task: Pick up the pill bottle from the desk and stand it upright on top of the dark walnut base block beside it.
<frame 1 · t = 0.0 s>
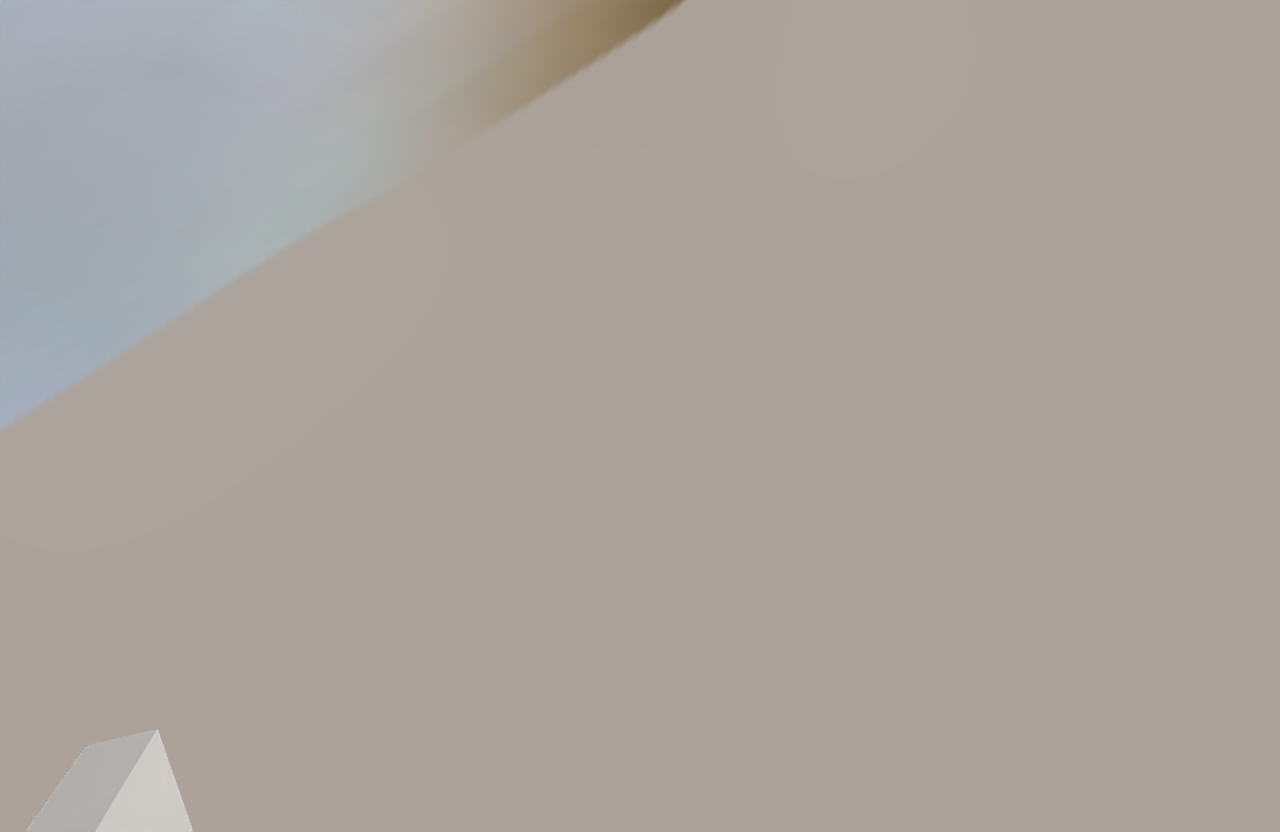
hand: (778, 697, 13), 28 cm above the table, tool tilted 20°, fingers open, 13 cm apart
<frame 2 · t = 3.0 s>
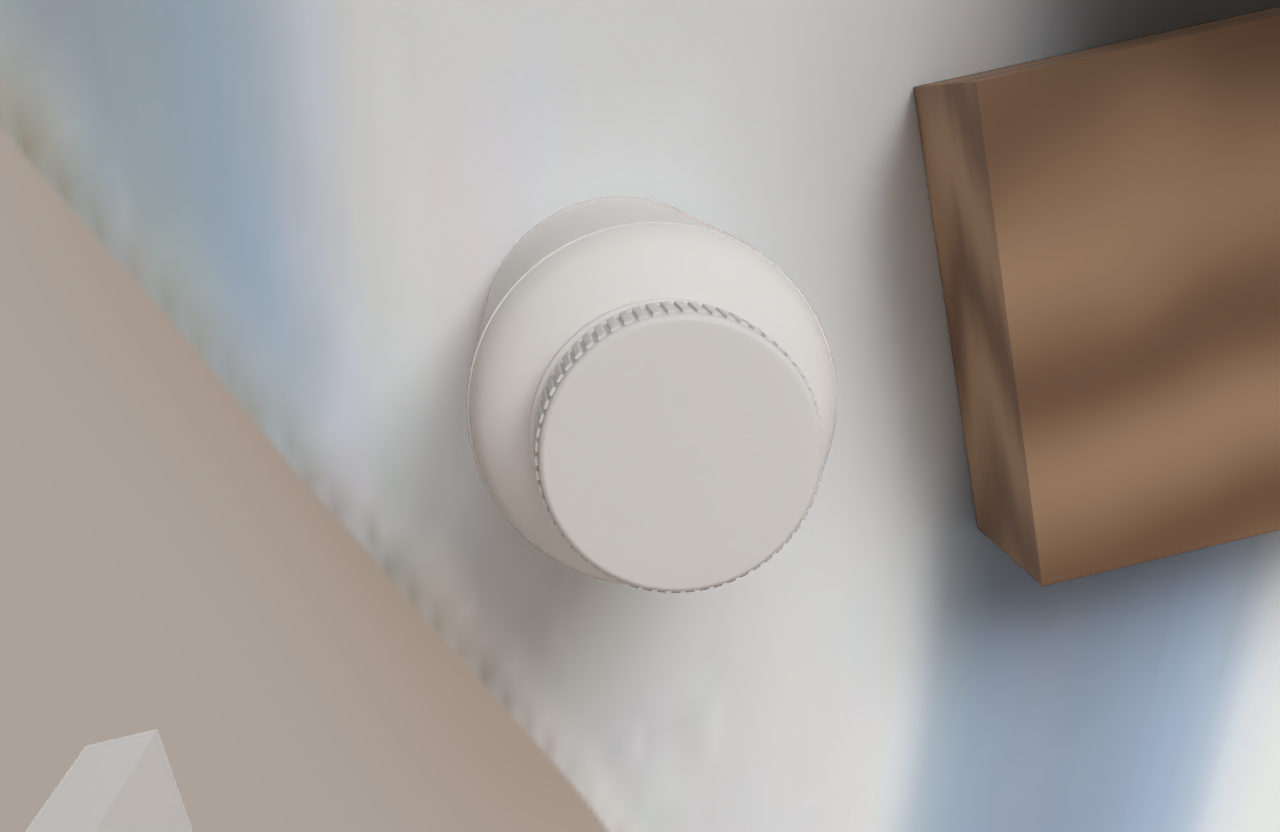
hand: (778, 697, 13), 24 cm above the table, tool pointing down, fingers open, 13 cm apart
walnut base: (1164, 268, 37), on the table
pill bottle: (615, 325, 36), on the table
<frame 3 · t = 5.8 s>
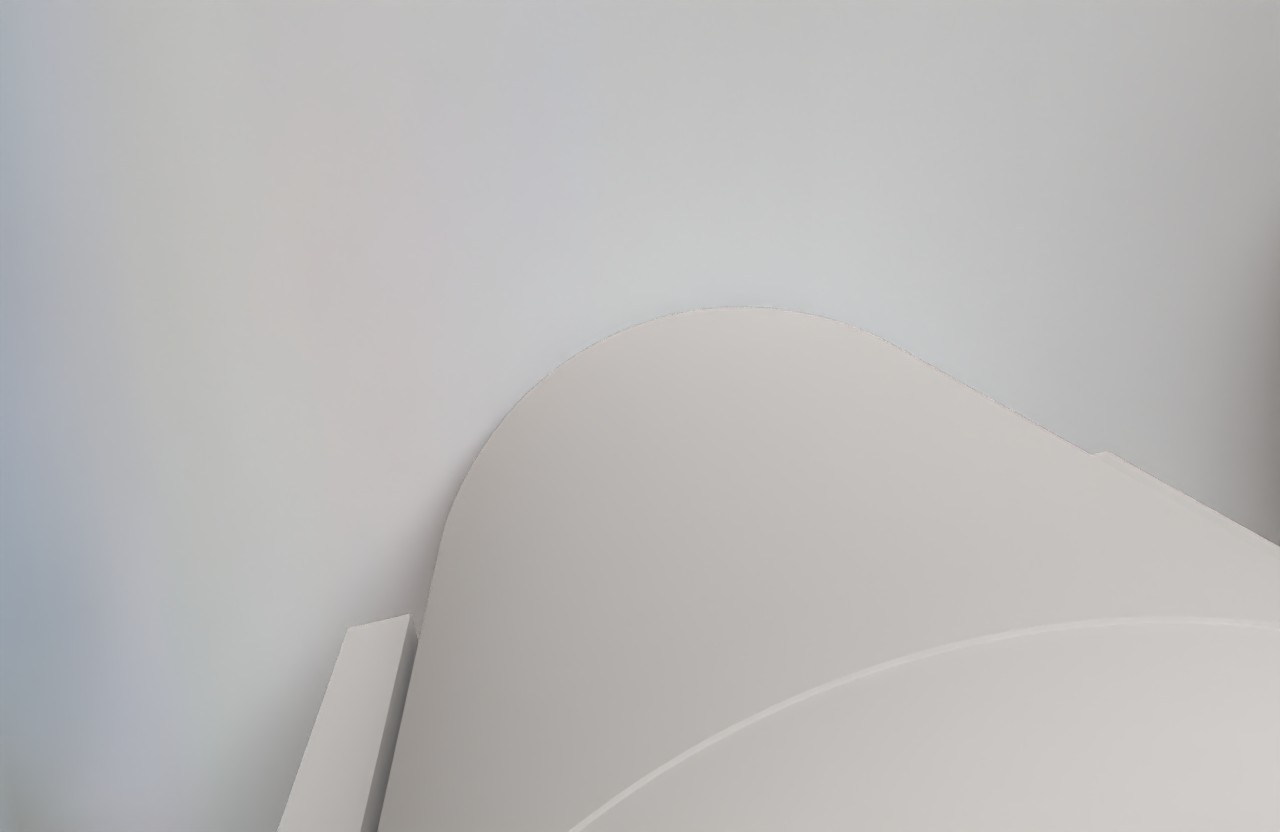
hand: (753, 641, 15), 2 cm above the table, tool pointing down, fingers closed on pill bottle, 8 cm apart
pill bottle: (721, 569, 17), on the table, touching gripper
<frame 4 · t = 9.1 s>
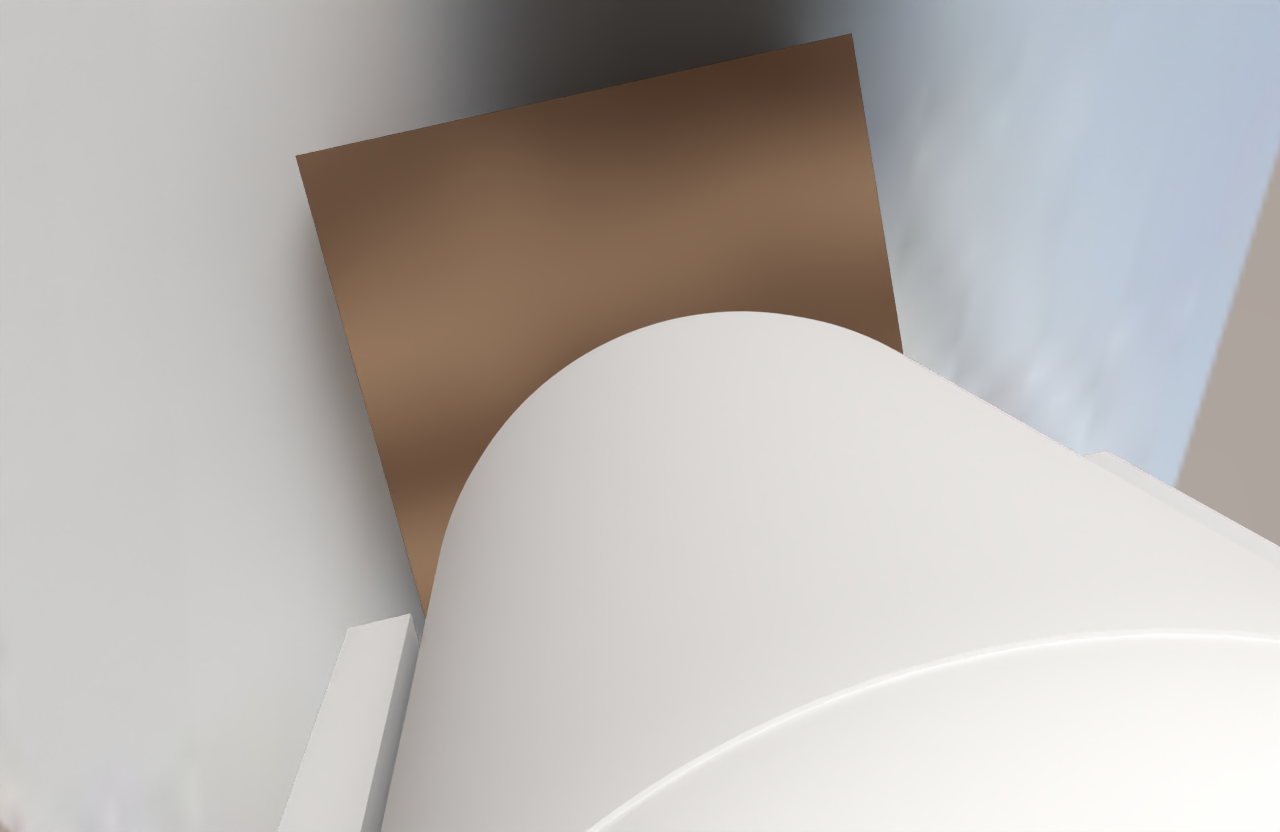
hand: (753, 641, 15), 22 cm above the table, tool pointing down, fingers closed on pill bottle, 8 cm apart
walnut base: (620, 334, 36), on the table
pill bottle: (721, 573, 17), point 20 cm above the table, touching gripper
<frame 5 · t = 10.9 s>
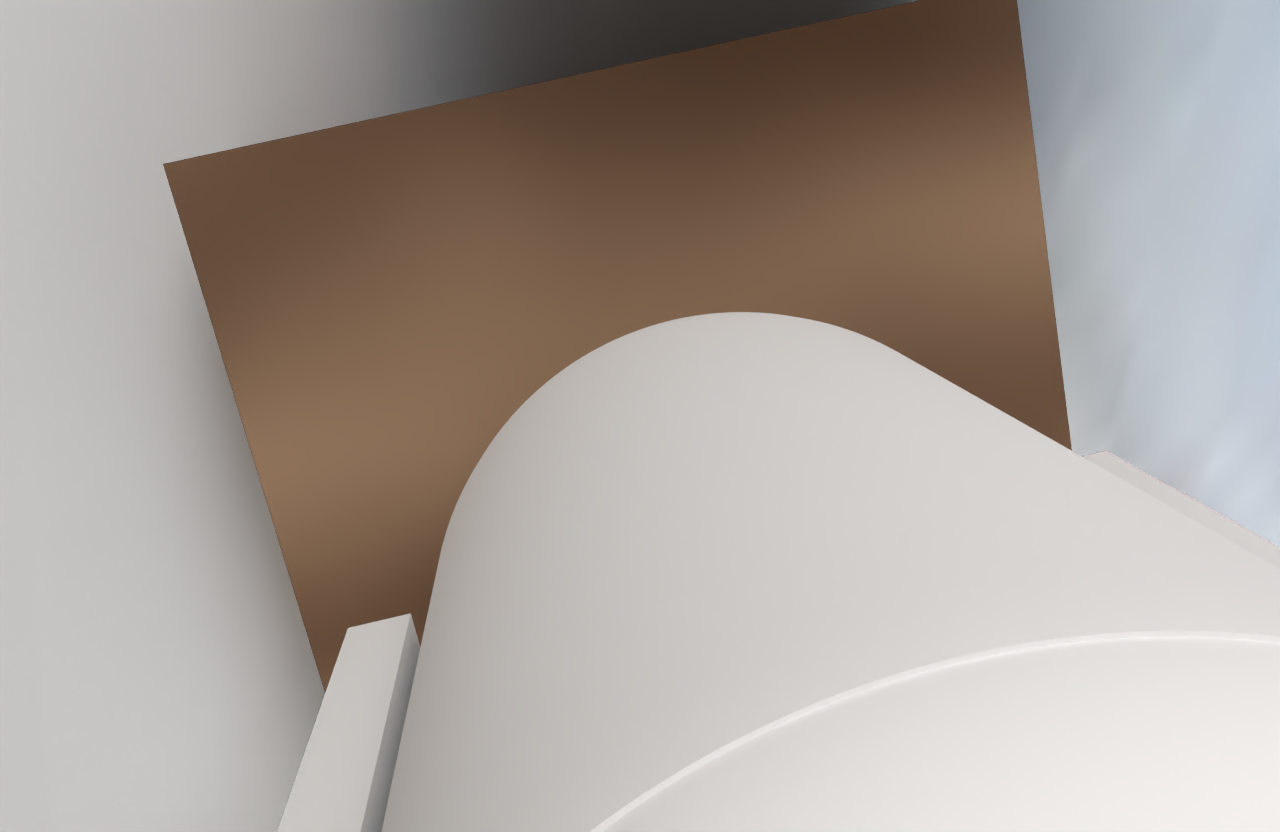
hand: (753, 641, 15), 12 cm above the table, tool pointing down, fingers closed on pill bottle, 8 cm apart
walnut base: (651, 410, 26), on the table
pill bottle: (722, 573, 17), point 9 cm above the table, touching gripper
when the fingers open (9 cm above the table, at t = 12.4 s): pill bottle drops 1 cm, resting on walnut base.
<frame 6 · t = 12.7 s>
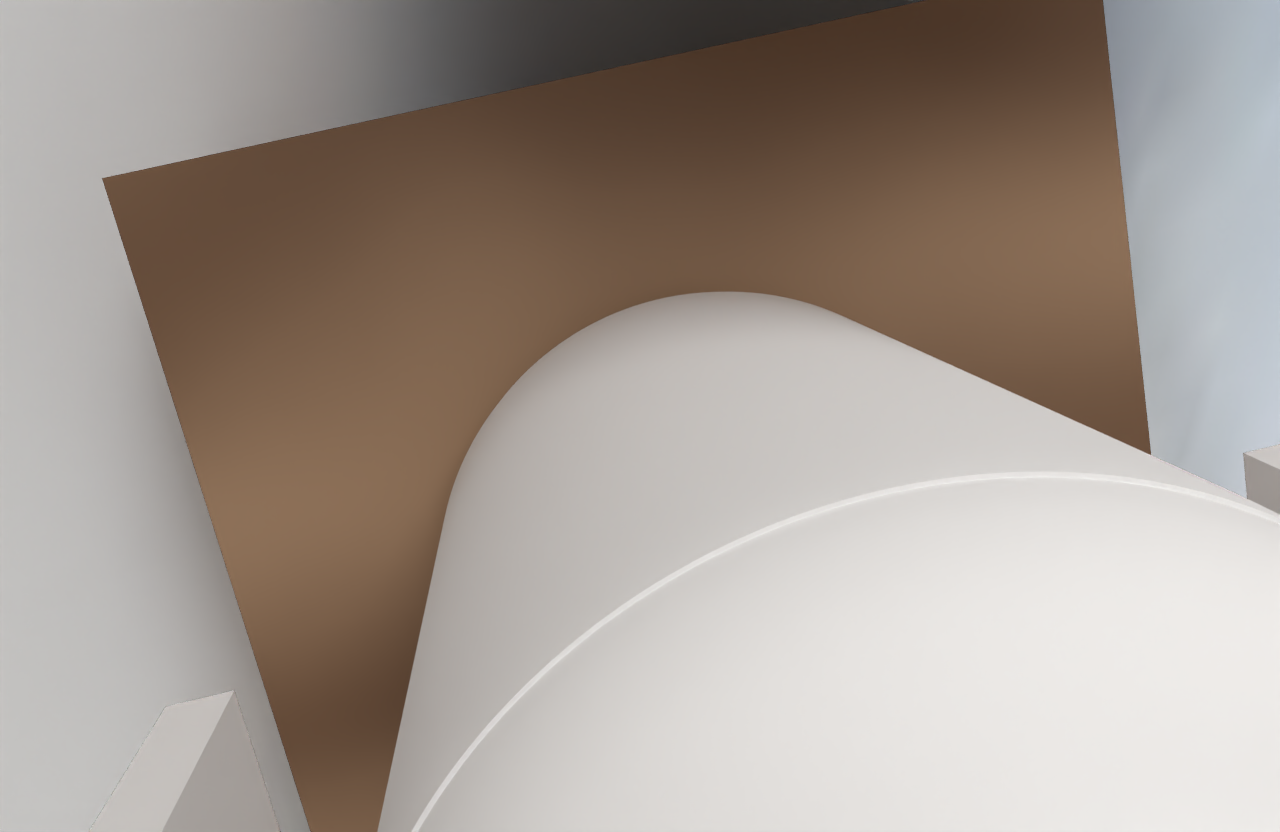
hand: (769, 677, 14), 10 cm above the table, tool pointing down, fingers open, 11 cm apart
walnut base: (668, 452, 23), on the table
pill bottle: (705, 537, 18), point 5 cm above the table, touching walnut base
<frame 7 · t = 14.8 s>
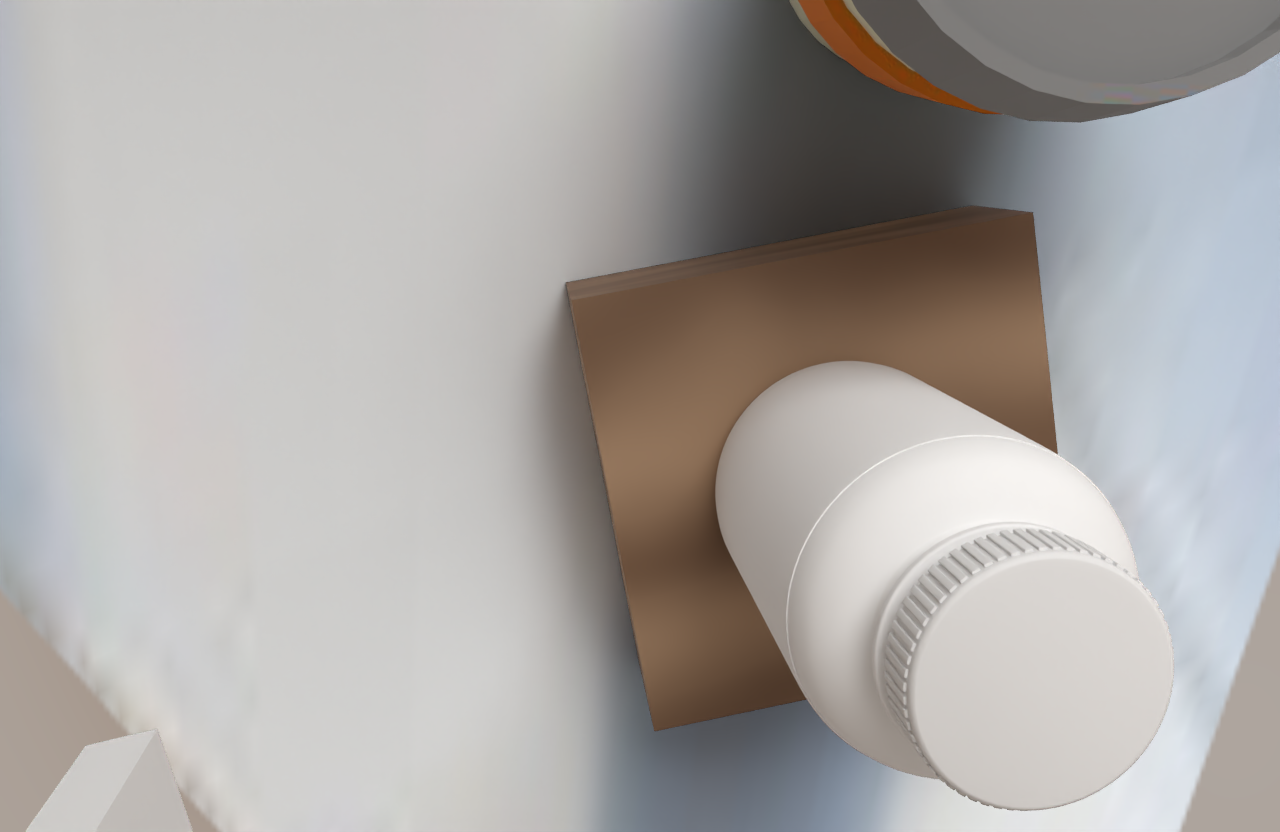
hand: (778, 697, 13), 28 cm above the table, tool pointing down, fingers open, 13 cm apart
walnut base: (801, 442, 42), on the table
pill bottle: (835, 479, 37), point 5 cm above the table, touching walnut base
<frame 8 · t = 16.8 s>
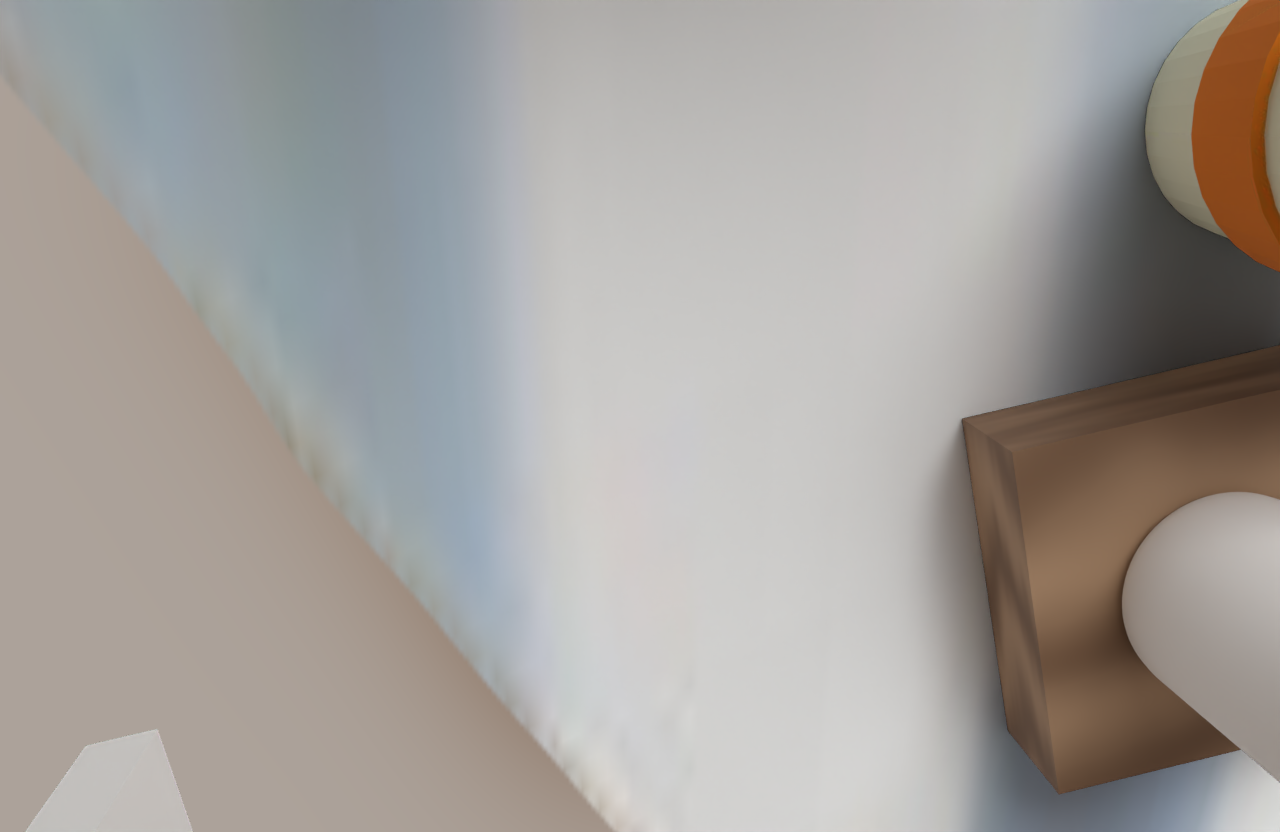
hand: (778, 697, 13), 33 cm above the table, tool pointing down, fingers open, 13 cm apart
walnut base: (1149, 541, 49), on the table
reusable coffee cup: (1254, 119, 46), on the table
pill bottle: (1213, 584, 45), point 5 cm above the table, touching walnut base
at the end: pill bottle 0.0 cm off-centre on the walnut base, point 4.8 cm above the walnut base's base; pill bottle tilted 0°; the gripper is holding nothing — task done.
